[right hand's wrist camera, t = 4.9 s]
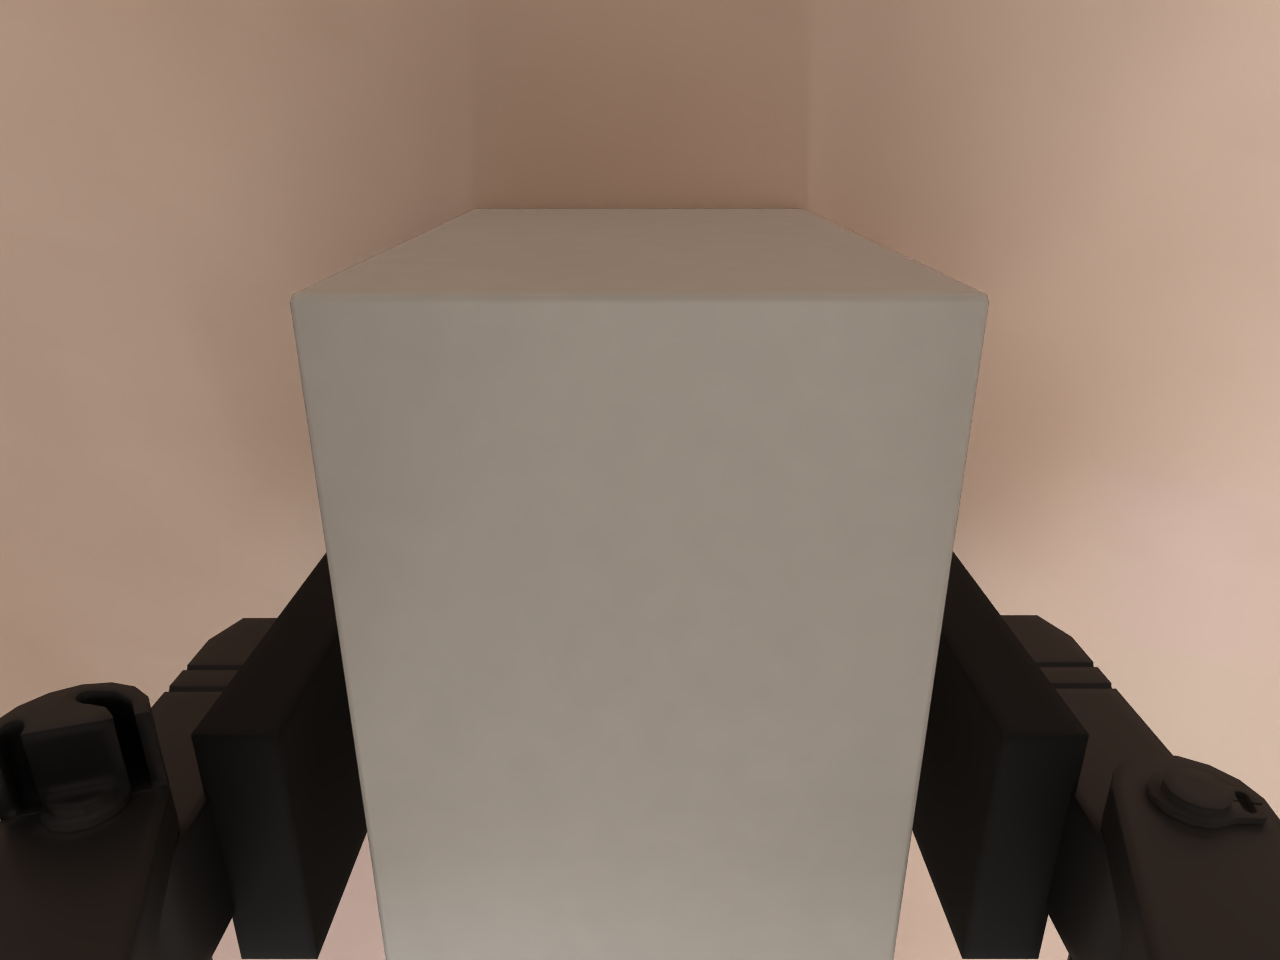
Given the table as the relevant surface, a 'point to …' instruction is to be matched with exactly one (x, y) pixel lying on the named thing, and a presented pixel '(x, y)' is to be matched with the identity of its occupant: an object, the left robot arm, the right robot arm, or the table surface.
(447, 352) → the beam
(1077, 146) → the table surface
